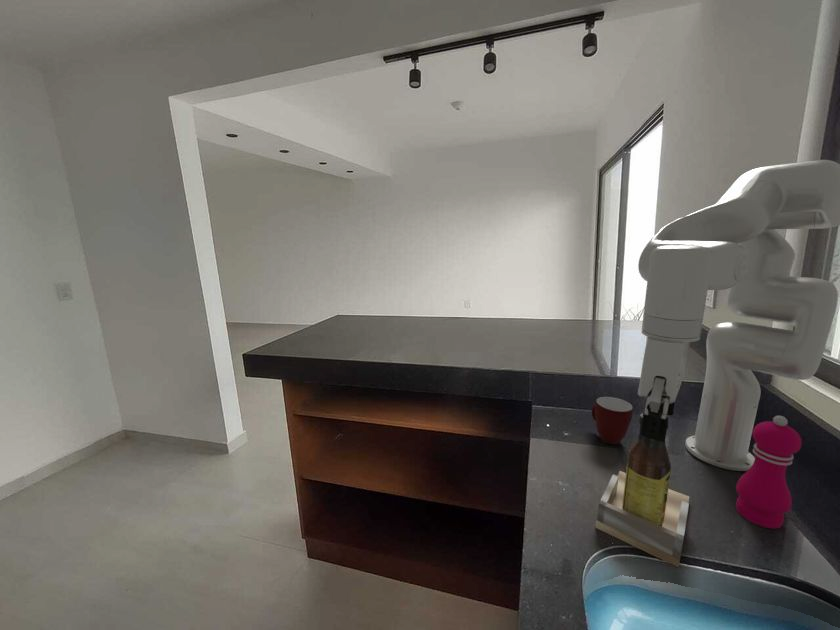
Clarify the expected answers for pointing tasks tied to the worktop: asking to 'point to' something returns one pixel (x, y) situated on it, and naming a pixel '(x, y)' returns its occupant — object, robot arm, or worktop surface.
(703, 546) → the worktop surface
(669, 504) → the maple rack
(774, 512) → the pepper mill
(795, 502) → the worktop surface
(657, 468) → the sauce bottle
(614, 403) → the mug
